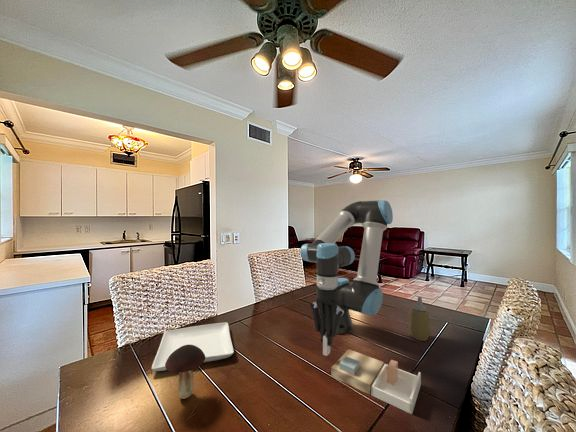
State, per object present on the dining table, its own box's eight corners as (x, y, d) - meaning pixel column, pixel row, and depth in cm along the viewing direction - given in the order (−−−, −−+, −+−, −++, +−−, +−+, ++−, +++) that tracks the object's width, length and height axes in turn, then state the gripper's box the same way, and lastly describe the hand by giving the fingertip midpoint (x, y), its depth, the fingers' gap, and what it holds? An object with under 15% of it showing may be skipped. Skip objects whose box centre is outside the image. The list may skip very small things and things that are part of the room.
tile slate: (339, 369, 77) (339, 362, 77) (345, 361, 81) (345, 355, 81) (353, 375, 74) (353, 369, 74) (359, 367, 78) (359, 361, 78)
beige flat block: (331, 376, 78) (331, 367, 78) (348, 356, 89) (348, 349, 89) (370, 394, 70) (370, 384, 70) (383, 370, 81) (383, 362, 81)
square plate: (164, 338, 103) (164, 330, 103) (227, 329, 112) (228, 321, 112) (150, 378, 77) (150, 367, 77) (234, 362, 86) (234, 351, 86)
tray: (371, 395, 70) (371, 381, 70) (384, 371, 81) (384, 359, 81) (412, 414, 63) (412, 399, 63) (420, 385, 74) (420, 372, 74)
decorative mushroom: (209, 383, 75) (209, 336, 75) (197, 411, 64) (197, 356, 64) (175, 384, 74) (175, 337, 75) (156, 413, 63) (157, 357, 64)
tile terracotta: (386, 366, 75) (393, 369, 73) (391, 359, 78) (397, 361, 77) (387, 382, 74) (393, 385, 73) (391, 374, 78) (397, 377, 77)
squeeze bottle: (433, 343, 98) (433, 301, 99) (412, 341, 100) (412, 299, 100) (426, 334, 106) (426, 295, 107) (407, 332, 108) (407, 293, 108)
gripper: (306, 285, 84) (305, 351, 84) (339, 293, 76) (338, 365, 76) (316, 281, 90) (316, 343, 90) (348, 288, 82) (348, 355, 82)
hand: (326, 353), depth 83 cm, fingers closed
